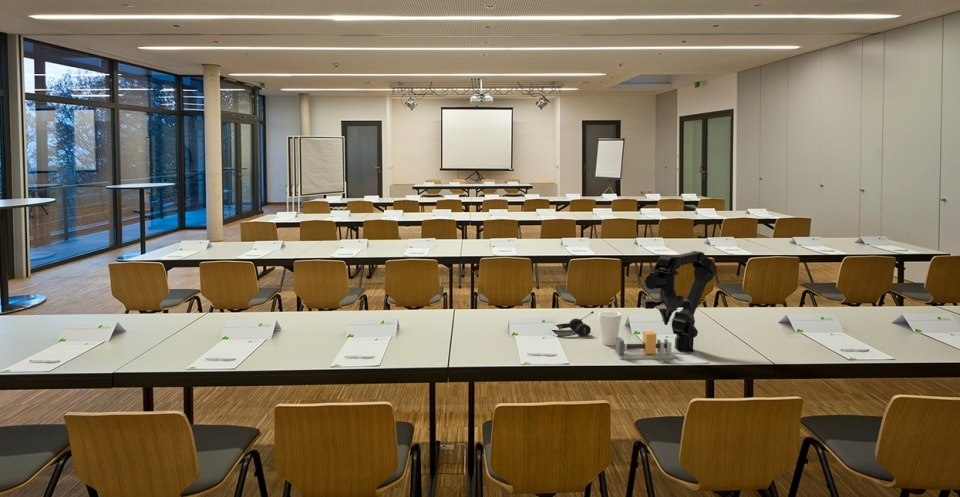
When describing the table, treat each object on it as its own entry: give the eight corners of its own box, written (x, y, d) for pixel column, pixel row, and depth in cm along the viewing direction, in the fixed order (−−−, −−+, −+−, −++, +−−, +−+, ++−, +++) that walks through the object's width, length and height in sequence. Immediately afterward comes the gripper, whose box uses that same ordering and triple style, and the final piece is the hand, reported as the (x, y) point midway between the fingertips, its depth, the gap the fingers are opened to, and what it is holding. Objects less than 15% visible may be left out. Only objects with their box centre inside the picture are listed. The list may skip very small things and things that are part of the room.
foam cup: (603, 347, 303) (604, 316, 301) (594, 341, 311) (594, 312, 310) (624, 345, 305) (624, 315, 303) (614, 339, 314) (615, 310, 312)
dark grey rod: (668, 348, 293) (668, 341, 292) (670, 350, 290) (670, 343, 289) (618, 349, 292) (618, 341, 291) (619, 351, 289) (620, 343, 288)
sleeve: (652, 350, 294) (652, 331, 292) (655, 353, 289) (656, 334, 287) (642, 350, 293) (643, 331, 292) (645, 353, 288) (646, 334, 287)
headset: (597, 313, 319) (554, 320, 316) (599, 334, 321) (556, 341, 317) (587, 307, 332) (545, 313, 329) (589, 327, 334) (547, 334, 330)
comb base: (666, 351, 297) (667, 335, 296) (674, 358, 287) (675, 341, 286) (614, 352, 295) (614, 336, 294) (620, 359, 285) (620, 342, 284)
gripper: (650, 290, 279) (648, 330, 281) (697, 290, 280) (695, 329, 282) (642, 285, 290) (640, 323, 292) (687, 284, 291) (686, 322, 293)
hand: (665, 324), depth 290 cm, fingers closed
